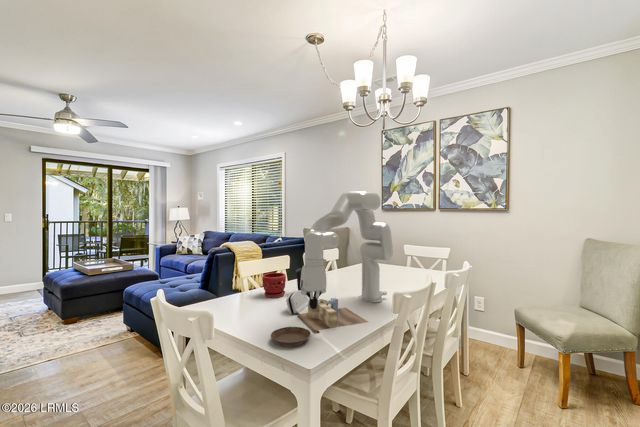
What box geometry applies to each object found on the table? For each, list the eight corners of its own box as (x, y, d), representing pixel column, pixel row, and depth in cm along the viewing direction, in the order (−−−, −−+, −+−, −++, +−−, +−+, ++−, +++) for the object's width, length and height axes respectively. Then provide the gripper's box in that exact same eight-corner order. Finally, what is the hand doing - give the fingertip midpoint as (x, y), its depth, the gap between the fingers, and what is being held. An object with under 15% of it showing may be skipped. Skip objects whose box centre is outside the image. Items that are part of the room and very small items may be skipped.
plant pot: (273, 291, 184) (273, 271, 184) (290, 295, 176) (290, 274, 176) (257, 296, 173) (257, 275, 173) (274, 300, 166) (274, 278, 166)
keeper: (335, 316, 141) (335, 297, 141) (340, 319, 137) (340, 300, 137) (325, 317, 139) (325, 299, 139) (329, 321, 135) (329, 301, 135)
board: (345, 309, 151) (345, 307, 151) (368, 324, 131) (368, 321, 131) (297, 316, 141) (297, 314, 141) (315, 333, 122) (315, 330, 122)
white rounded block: (299, 315, 142) (292, 294, 143) (290, 317, 143) (283, 296, 144) (312, 305, 158) (306, 286, 159) (304, 307, 159) (298, 288, 160)
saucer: (263, 339, 116) (263, 332, 116) (296, 330, 125) (296, 323, 125) (284, 353, 105) (284, 345, 105) (318, 342, 114) (318, 335, 114)
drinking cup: (299, 296, 173) (299, 260, 173) (293, 293, 180) (293, 258, 180) (311, 294, 177) (311, 259, 177) (305, 291, 184) (305, 258, 183)
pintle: (319, 316, 141) (319, 298, 141) (321, 317, 139) (321, 299, 139) (314, 316, 140) (314, 299, 140) (316, 318, 138) (316, 300, 138)
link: (305, 313, 142) (305, 300, 142) (323, 310, 146) (323, 298, 146) (323, 328, 124) (323, 313, 124) (343, 325, 127) (343, 310, 127)
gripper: (326, 260, 132) (326, 303, 132) (293, 262, 126) (292, 307, 126) (334, 263, 125) (334, 308, 125) (299, 265, 119) (299, 312, 119)
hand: (313, 308), depth 125 cm, fingers closed
